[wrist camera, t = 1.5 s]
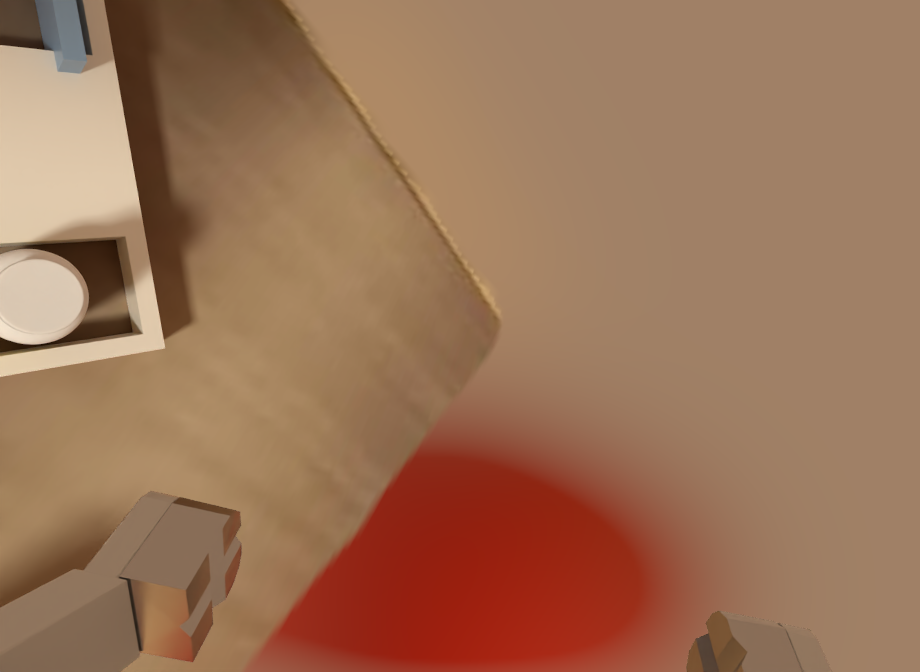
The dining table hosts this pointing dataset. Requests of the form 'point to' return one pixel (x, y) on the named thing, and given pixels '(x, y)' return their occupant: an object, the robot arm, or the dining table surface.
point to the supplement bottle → (39, 296)
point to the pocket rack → (72, 169)
